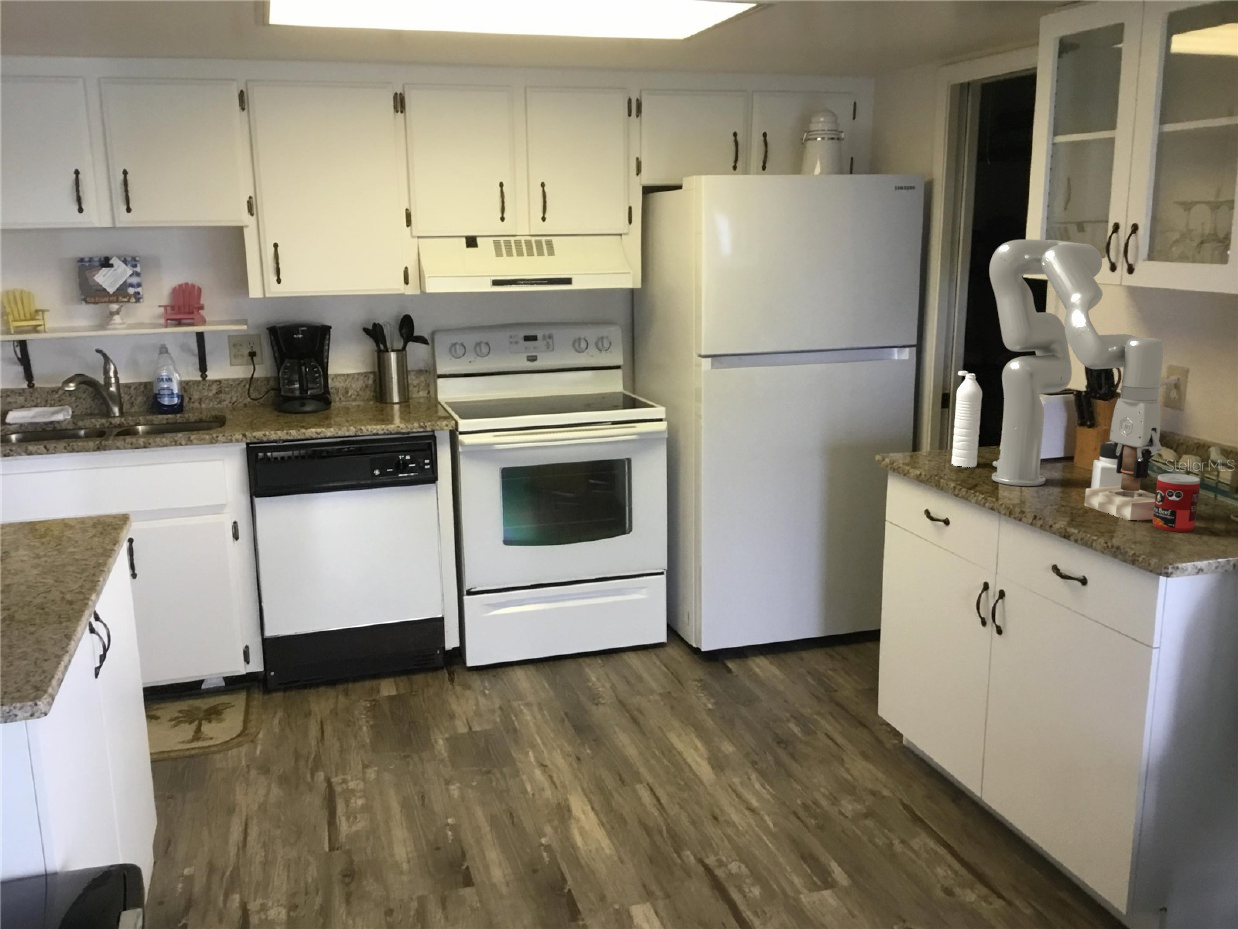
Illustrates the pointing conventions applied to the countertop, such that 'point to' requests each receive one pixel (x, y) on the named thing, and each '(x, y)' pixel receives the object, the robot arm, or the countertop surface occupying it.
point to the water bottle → (967, 422)
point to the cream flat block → (1121, 502)
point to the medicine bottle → (1106, 468)
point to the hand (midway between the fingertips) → (1131, 474)
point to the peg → (1129, 469)
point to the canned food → (1176, 502)
